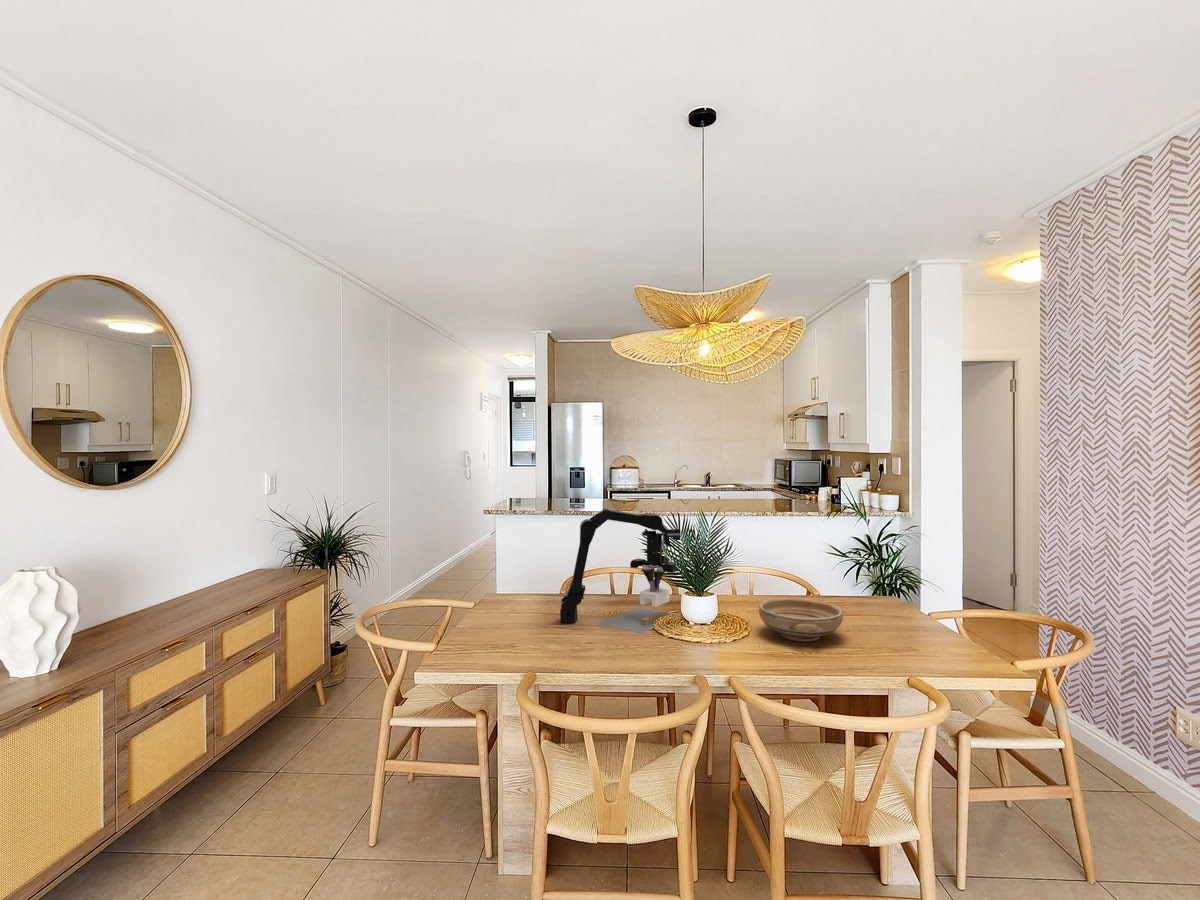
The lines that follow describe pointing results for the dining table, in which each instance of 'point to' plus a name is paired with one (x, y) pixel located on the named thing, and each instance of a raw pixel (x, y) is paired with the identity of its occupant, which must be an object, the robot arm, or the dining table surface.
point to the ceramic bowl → (800, 617)
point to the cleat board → (636, 619)
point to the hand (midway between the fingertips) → (654, 588)
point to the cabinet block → (654, 595)
